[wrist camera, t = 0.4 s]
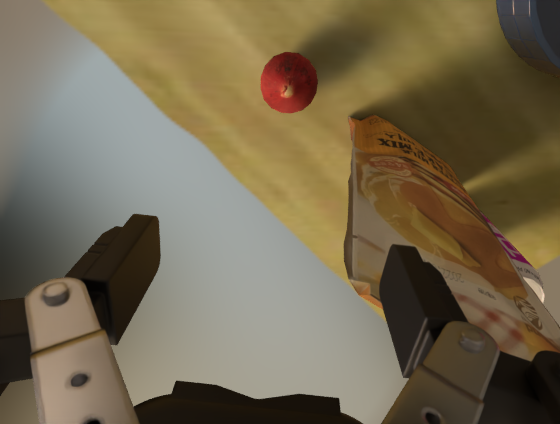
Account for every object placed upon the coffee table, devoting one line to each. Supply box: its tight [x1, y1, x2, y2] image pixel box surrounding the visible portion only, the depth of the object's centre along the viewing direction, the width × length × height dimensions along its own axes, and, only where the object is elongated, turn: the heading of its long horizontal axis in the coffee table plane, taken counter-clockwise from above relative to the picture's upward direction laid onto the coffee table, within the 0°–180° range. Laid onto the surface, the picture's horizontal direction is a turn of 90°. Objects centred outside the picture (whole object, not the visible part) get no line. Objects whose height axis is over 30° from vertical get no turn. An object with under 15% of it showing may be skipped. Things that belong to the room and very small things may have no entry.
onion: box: [261, 52, 318, 113], centre depth 38 cm, size 6×6×8 cm
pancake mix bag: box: [344, 115, 560, 361], centre depth 33 cm, size 7×19×28 cm, turn 57°
